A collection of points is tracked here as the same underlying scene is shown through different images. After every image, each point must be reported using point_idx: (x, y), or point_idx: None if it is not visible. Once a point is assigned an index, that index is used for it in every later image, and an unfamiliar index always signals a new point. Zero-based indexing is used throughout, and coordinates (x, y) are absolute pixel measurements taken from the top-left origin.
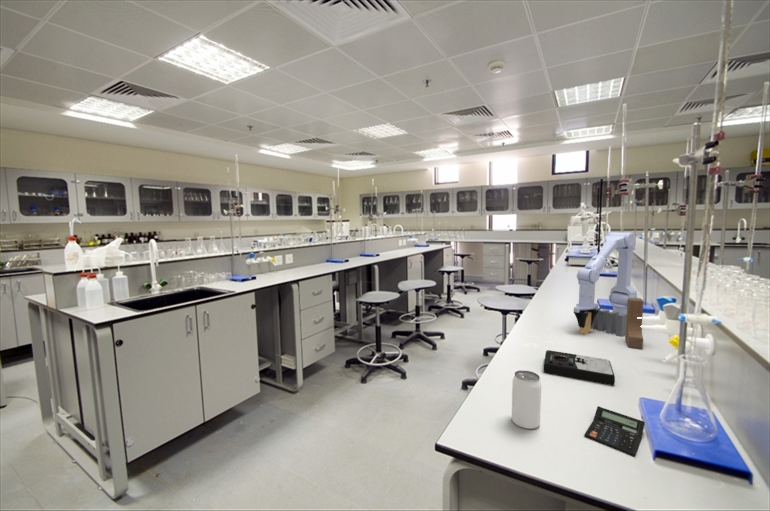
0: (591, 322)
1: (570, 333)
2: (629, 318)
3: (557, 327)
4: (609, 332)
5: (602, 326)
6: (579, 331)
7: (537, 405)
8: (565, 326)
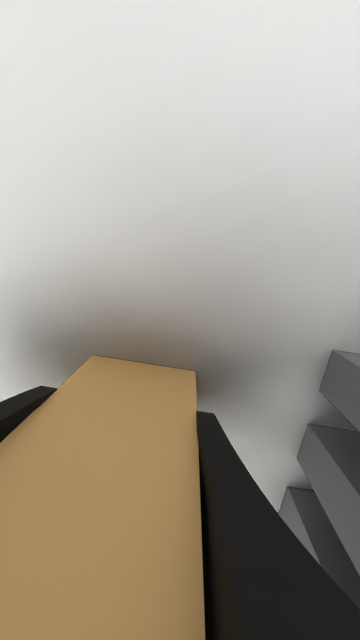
0: None
1: (8, 310)
2: None
3: (72, 109)
4: (285, 513)
5: (322, 503)
6: (86, 361)
7: None
8: (191, 155)
